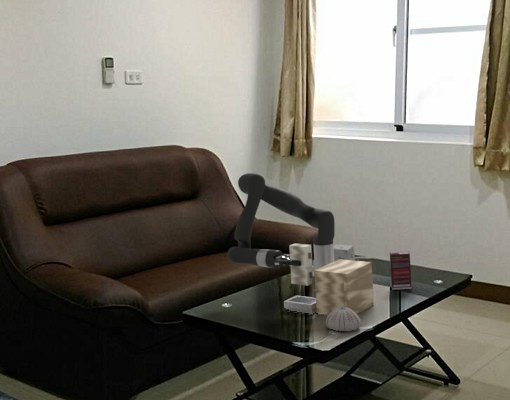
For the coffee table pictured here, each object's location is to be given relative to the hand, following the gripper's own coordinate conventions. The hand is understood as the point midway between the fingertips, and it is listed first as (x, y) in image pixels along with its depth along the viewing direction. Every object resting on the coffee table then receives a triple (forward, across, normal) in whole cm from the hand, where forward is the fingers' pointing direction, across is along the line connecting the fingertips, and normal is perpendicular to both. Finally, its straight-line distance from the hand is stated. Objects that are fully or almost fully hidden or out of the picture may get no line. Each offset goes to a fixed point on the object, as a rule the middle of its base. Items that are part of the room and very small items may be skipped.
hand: (303, 262), depth 323 cm
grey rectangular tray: (-1, 0, +20) cm, 20 cm away
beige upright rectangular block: (-1, 0, +9) cm, 9 cm away
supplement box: (+21, +44, +20) cm, 53 cm away
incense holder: (-23, +69, +20) cm, 76 cm away
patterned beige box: (+13, +7, +20) cm, 25 cm away
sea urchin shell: (+26, -14, +20) cm, 36 cm away
